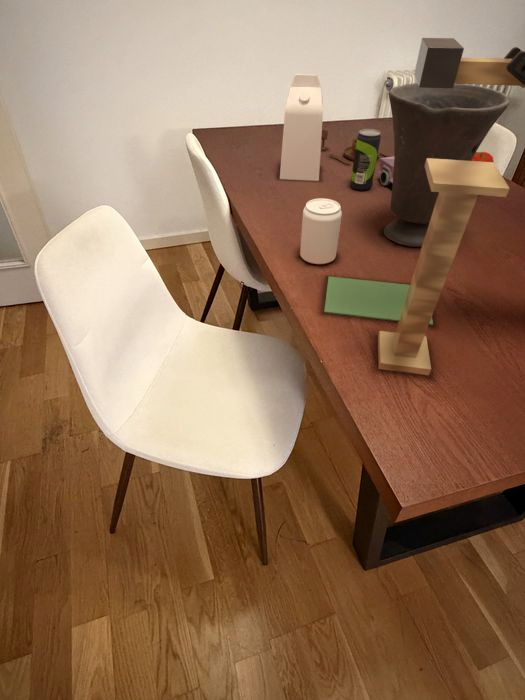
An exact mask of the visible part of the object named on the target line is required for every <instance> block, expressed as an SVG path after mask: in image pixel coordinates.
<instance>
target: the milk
mask: <svg viewBox="0 0 525 700" xmlns="http://www.w3.org/2000/svg"><path fill="white" fill-rule="evenodd" d="M323 98H324V97H323V93H322V86H321V82H320V79H319V75H318V74H317V73H316V74H315V73H295V74H294V77H293V80H292V82H291V85H290V89H289V92H288V96H287V100H286V104H285V108H284V118H283V131H282V145H281V156H280V169H279V180H292V181H314V182H315V181H317V182H319V181H320V167H321V153H322V152H321V151H322V150H321V147H322V139H321V136H322V130H323V120H324V119H323V116H324V100H323Z"/></svg>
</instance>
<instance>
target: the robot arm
mask: <svg viewBox="0 0 525 700" xmlns="http://www.w3.org/2000/svg"><path fill="white" fill-rule="evenodd" d="M503 59H512V60H511V61H510V63H509V64H508V65H507V71H509V72H510V73H511V74H512V75H513V76H514V77H515V78H517V79H518V80H519V81H520V82H521V83H522V84H523V85H524V86H520V87H521V88H522V89H525V51H524V50H522V49H521V48H519V47H518V46H515V47H512V48H511V49H510V50H509V52H507V54H505V56H504V57H503Z"/></svg>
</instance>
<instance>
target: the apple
mask: <svg viewBox="0 0 525 700" xmlns="http://www.w3.org/2000/svg"><path fill="white" fill-rule="evenodd" d="M471 161H479V162H494V163H495V161H494V156H493V155H492V154H490V153H489V152H486V151H476V153H475V155H474V157H473V158H472V160H471Z"/></svg>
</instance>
